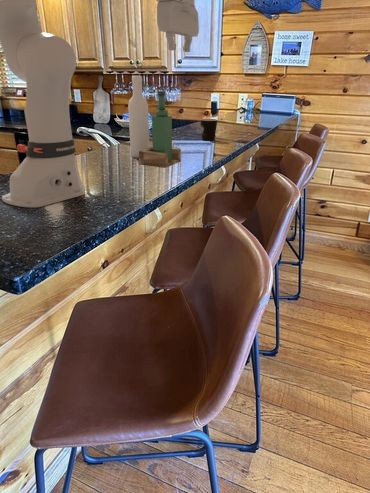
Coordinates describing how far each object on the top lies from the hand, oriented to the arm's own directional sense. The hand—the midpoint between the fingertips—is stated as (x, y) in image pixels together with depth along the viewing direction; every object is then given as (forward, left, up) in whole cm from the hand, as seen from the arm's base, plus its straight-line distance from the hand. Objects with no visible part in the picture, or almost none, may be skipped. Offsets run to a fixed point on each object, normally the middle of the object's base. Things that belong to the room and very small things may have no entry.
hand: (179, 51), depth 112 cm
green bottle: (+5, +10, -36) cm, 38 cm away
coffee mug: (+64, +18, -37) cm, 76 cm away
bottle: (+12, +25, -37) cm, 46 cm away
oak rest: (+5, +11, -37) cm, 39 cm away
